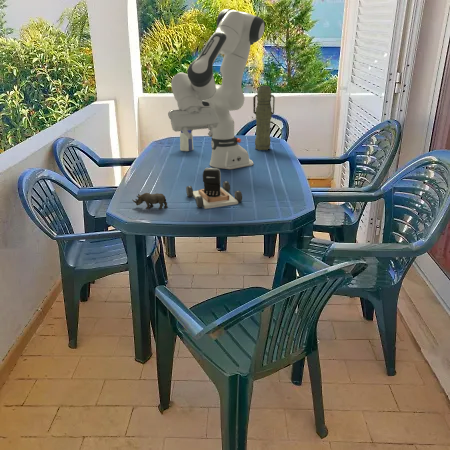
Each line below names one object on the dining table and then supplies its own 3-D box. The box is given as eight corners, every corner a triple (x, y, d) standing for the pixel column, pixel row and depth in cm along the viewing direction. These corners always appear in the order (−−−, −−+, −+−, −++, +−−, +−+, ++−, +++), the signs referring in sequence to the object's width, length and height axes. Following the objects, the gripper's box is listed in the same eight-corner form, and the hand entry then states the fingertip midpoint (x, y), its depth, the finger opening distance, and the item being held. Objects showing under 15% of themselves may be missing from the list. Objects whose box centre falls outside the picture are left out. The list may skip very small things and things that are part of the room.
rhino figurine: (134, 204, 174) (133, 190, 172) (168, 206, 173) (167, 191, 170) (131, 208, 171) (130, 194, 168) (165, 210, 169) (165, 195, 167)
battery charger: (202, 197, 178) (201, 170, 174) (204, 193, 182) (203, 167, 177) (219, 198, 177) (219, 170, 172) (221, 194, 181) (220, 168, 176)
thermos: (252, 146, 260) (254, 85, 246) (272, 147, 259) (275, 85, 244) (251, 150, 252) (253, 87, 238) (272, 150, 251) (275, 87, 236)
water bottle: (187, 146, 260) (185, 103, 250) (196, 149, 255) (195, 105, 245) (176, 149, 255) (174, 105, 245) (186, 151, 250) (184, 107, 239)
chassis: (225, 189, 190) (225, 179, 189) (242, 203, 175) (242, 192, 173) (186, 194, 184) (185, 184, 183) (199, 209, 169) (199, 198, 167)
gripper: (168, 105, 173) (179, 135, 169) (214, 102, 182) (225, 130, 179) (164, 115, 179) (175, 144, 175) (209, 111, 188) (220, 139, 184)
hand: (201, 137), depth 177 cm, fingers open, 8 cm apart
